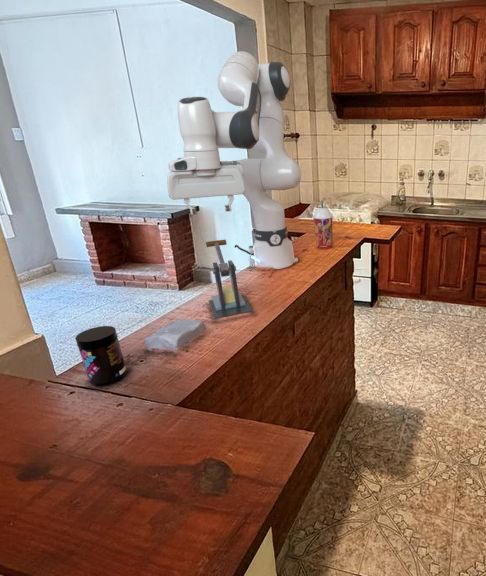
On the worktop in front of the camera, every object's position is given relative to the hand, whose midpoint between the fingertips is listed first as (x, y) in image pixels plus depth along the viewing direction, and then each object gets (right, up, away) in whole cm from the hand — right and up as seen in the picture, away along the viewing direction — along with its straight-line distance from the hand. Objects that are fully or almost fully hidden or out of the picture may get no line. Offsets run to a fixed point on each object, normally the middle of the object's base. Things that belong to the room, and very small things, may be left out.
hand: (211, 212), depth 113 cm
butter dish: (+4, -26, +2) cm, 26 cm away
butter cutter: (+5, -28, 0) cm, 28 cm away
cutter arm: (+3, -14, 0) cm, 14 cm away
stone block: (-2, -35, -17) cm, 38 cm away
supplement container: (-9, -40, -31) cm, 52 cm away
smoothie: (+26, -4, +62) cm, 67 cm away
